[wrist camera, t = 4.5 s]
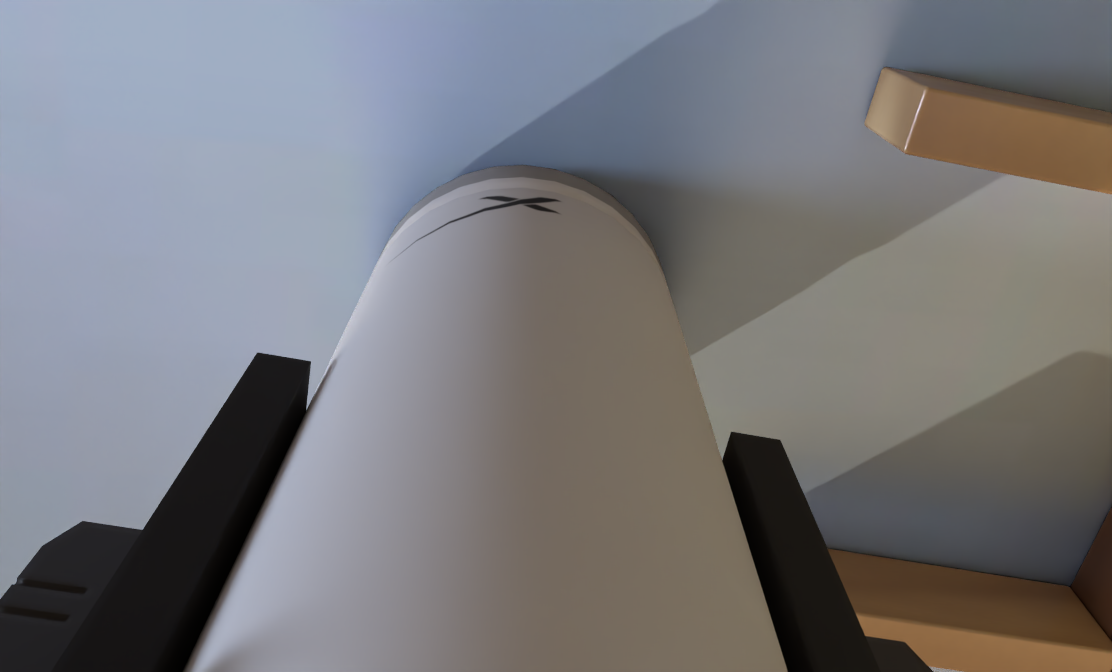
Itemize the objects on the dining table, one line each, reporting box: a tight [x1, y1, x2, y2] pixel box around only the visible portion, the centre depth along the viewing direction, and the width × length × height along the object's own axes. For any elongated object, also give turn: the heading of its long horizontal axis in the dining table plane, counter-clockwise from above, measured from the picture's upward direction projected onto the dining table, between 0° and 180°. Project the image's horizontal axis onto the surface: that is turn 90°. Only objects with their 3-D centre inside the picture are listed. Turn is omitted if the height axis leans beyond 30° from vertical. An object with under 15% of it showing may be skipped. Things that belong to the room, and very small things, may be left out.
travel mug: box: [182, 165, 788, 672], centre depth 12 cm, size 6×7×20 cm
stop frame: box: [828, 67, 1112, 672], centre depth 21 cm, size 12×10×2 cm
